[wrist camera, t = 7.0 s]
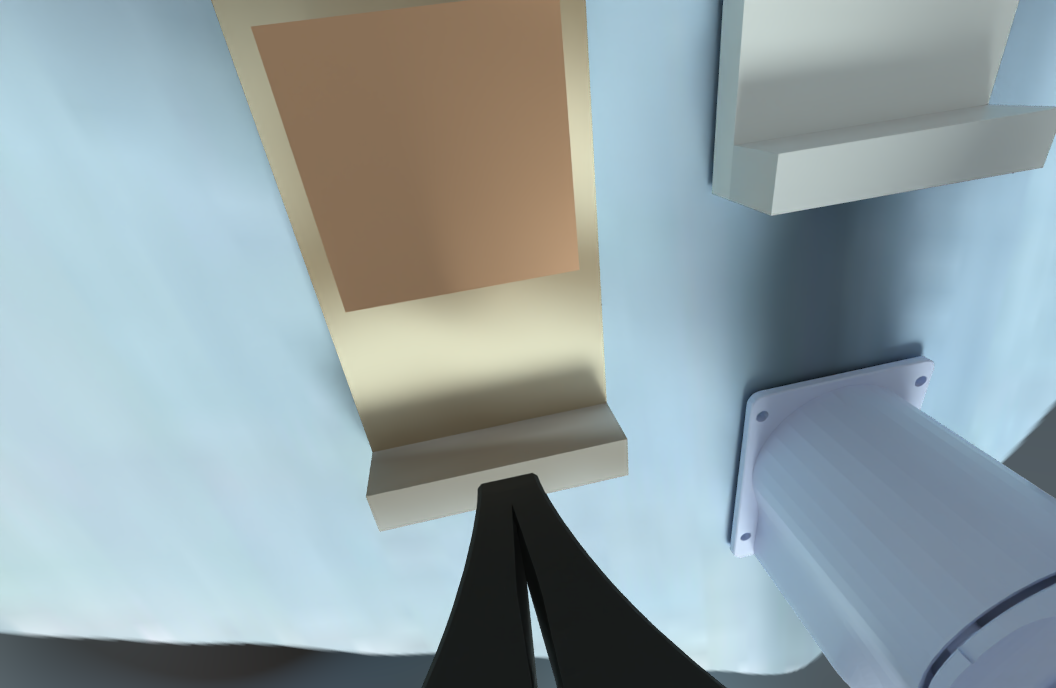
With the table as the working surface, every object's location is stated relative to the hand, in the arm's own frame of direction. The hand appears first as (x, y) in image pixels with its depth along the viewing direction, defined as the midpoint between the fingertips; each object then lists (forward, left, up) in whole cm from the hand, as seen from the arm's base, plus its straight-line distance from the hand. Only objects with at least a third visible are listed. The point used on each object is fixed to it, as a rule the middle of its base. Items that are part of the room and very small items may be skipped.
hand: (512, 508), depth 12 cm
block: (+8, 0, -5) cm, 9 cm away
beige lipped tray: (+4, 0, -6) cm, 7 cm away
